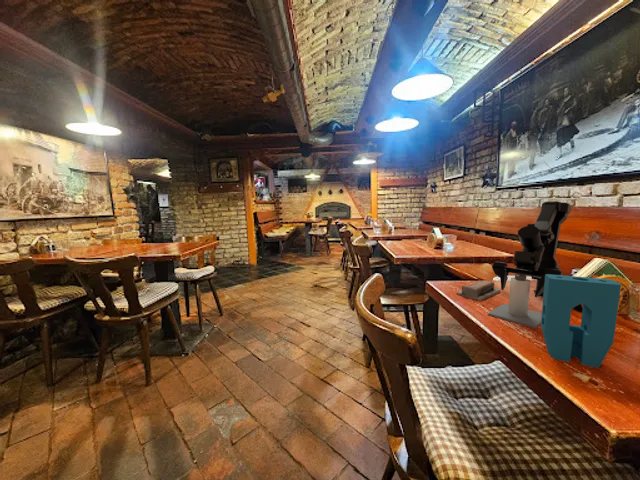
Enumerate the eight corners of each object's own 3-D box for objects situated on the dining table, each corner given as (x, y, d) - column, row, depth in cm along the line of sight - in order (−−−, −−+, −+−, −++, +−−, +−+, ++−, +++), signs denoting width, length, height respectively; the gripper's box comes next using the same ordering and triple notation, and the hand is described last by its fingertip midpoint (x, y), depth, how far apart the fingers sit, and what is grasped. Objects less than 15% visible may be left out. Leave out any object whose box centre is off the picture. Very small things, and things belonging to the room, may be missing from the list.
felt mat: (503, 305, 96) (503, 303, 96) (548, 316, 85) (548, 314, 85) (487, 314, 88) (487, 313, 87) (535, 328, 77) (535, 326, 77)
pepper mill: (505, 310, 89) (507, 273, 88) (522, 311, 88) (524, 273, 87) (513, 316, 84) (516, 277, 83) (531, 317, 83) (534, 277, 82)
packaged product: (481, 290, 100) (456, 284, 108) (481, 302, 100) (456, 295, 109) (501, 282, 110) (477, 277, 118) (500, 293, 110) (476, 287, 119)
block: (601, 359, 61) (611, 279, 59) (611, 370, 57) (623, 285, 54) (537, 346, 67) (544, 273, 65) (542, 356, 63) (550, 278, 60)
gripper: (495, 239, 93) (481, 273, 88) (564, 244, 78) (552, 286, 73) (501, 257, 99) (488, 291, 93) (567, 265, 84) (556, 305, 79)
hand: (518, 292), depth 84 cm, fingers open, 9 cm apart
